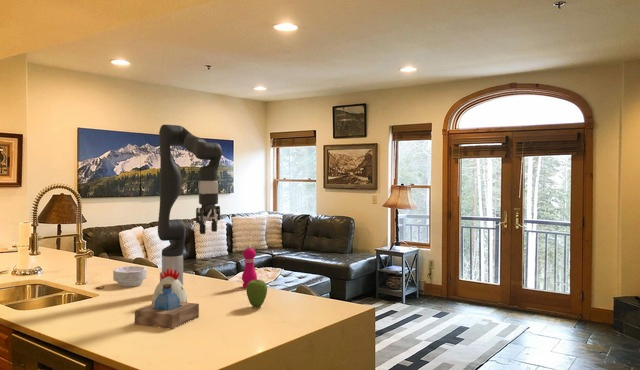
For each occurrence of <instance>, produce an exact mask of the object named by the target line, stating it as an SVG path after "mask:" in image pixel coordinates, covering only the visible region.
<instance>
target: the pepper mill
mask: <svg viewBox="0 0 640 370" xmlns="http://www.w3.org/2000/svg"><path fill="white" fill-rule="evenodd" d="M256 254H257V252H256V250H255V249H253V248H252V245H250V244H249V245H248V246H247V248H246V249H244V250H243V253H242V257H244V259H243V260H244V261H243V262H244V270H243V272H242V274H241V281H242V282H243V283H242V288H244V289H246V287H247V284H248V283H249V282H250V281H252V280H258V275H257V272H256V270H255V261H256V259H255V257H256Z"/></svg>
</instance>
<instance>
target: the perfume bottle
mask: <svg viewBox="0 0 640 370" xmlns="http://www.w3.org/2000/svg"><path fill="white" fill-rule="evenodd" d="M171 286H172V284H163V288H162V291H163V293H162V294H159V296H158V297H157V299H156V300H155V309H158V310H167V311H171V310H173V309H176V308H178V307H180V299H179V298H178V296H177V295H176V294H175V293H171V291H172V287H171Z"/></svg>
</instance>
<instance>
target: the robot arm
mask: <svg viewBox="0 0 640 370" xmlns="http://www.w3.org/2000/svg"><path fill="white" fill-rule="evenodd" d="M158 142H159V143H158V145H159V154H160V155H159V157H160V159H159V161H160V169H159V209H158V210H159V211H158V219H157V235H158V238H159V240H160V241H162V242H163V241H164V242H166V241H167V242H168V241H172V242H171V243H169V245H168V246H166V247H163V248H162V250H161V272H159V282H160V281H161V280H162V278H161V275H160V274H162V275H163V276H164V271H165V272H166V273H167V269H168V268H169V272H170V270H171V269H172V270H173V274H174V271H175V269H176V271H177V274H178V273H179V272H180V273H179V276H178V278H177V279H178V280H179V281H180V282H181V284H182V285H183V286H184V250H185V241H186V240H185V238H186V237H185V236H186V228H185V222H184V221H183V220H182V219H180V218H176V219H175V218H174V219H170V217H171V210H172V208H173V206H174V204H175V203H176V201H177V199H178V198H179V196H180V194H181V191H182V174H181V171H180V169H179V167H178V166H177V164H176V163H175V160H174V159H173V157H172V156H173V155H172V152H171V147H179V146H180V147H181V146H183V147H184V149H185V150H186V151H188V153H191V154H193V155H194V157H195V158H197V159H199V160H202V161H209V163H208V164H207V165H203V166H201V167H200V168H199V183H198V204H199V205H200V206H201V207H196V209H195V223H196V224H198V225H199V234H200V235H205V234H206V232H207V231H206V222H207V221H208V220H209V219H210V221H211V224H210V225H211V227H210V228H211V229H210V230H211V232H215V233H216V232H218V223H219V221H221V206H220V205H218V204H219V183H218V171H219V168H220V162H221V160H222V155H223V149H222V147H221V145H220V144H219V143H218V142H211V141H210V142H207V141H206V140H204V139H203V138H201V137H198V136H196V135H194V134H193V133H191V132H190V131H189V130H188V129H186V128H185V127H184V126H182V125H178V124H177V125H176V124H162V125H161V126H160V128H159V133H158Z"/></svg>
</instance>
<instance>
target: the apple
mask: <svg viewBox="0 0 640 370" xmlns="http://www.w3.org/2000/svg"><path fill="white" fill-rule="evenodd" d="M245 290H246V291H245V292H246V296H247V299H248V302H249V304H250V305H251V306H252V307H253V308H257V309H258V308H259V307H260V308H261V307H262V306H263V304H264V302H265V299H266V297H267V295H268V294H267V293H268V285H267V283H266V281H264V280H261V279H257V280H252V281H250V282H249V283H248V284H247V287H246V288H245Z"/></svg>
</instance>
